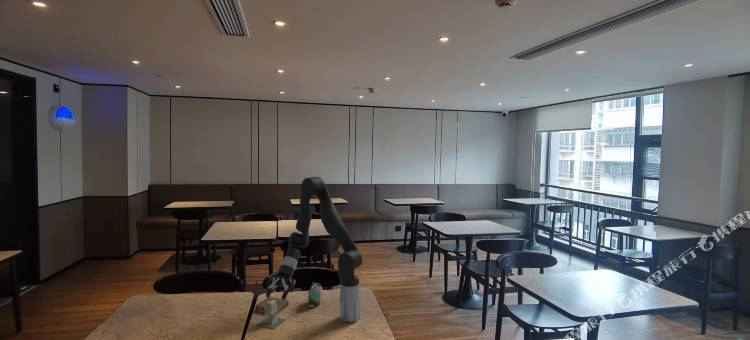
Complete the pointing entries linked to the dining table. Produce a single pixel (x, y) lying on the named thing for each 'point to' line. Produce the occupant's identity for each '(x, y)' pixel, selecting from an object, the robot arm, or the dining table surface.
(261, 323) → the blue-grey square plate
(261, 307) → the walnut eye block
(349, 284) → the robot arm
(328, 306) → the dining table surface
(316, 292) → the food container
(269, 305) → the beech peg
